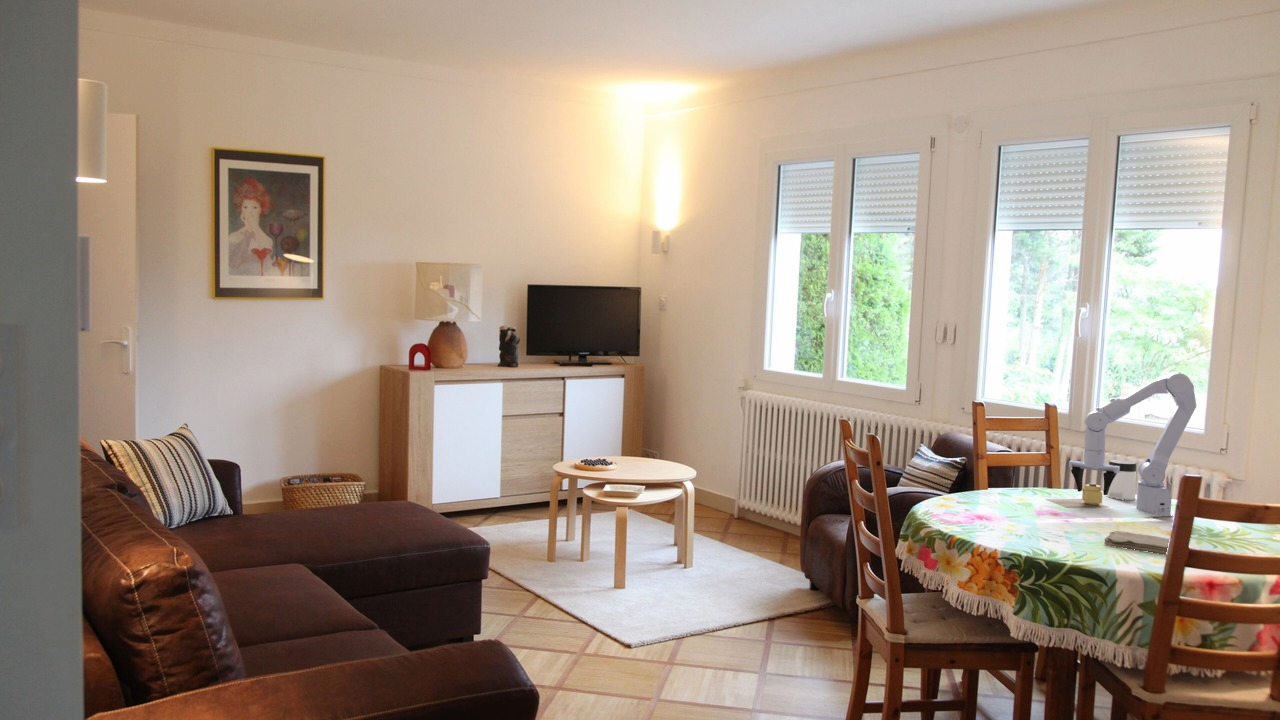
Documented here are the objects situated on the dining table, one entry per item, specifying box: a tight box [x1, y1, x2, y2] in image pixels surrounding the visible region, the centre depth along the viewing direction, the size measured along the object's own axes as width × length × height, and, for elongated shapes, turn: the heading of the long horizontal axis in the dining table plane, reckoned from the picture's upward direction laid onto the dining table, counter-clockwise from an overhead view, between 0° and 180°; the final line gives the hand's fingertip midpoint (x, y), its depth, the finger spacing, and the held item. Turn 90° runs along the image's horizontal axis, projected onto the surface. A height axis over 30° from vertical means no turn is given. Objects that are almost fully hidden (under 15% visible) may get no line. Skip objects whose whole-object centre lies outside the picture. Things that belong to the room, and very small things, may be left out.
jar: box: [1107, 459, 1137, 501], centre depth 315 cm, size 9×8×12 cm
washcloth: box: [1104, 530, 1170, 556], centre depth 252 cm, size 12×18×3 cm, turn 55°
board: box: [1045, 498, 1109, 509], centre depth 300 cm, size 12×14×1 cm
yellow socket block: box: [1081, 482, 1103, 505], centre depth 299 cm, size 5×5×6 cm
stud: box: [1085, 502, 1100, 506], centre depth 299 cm, size 4×4×4 cm
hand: (1092, 492), depth 299 cm, fingers open, 7 cm apart
